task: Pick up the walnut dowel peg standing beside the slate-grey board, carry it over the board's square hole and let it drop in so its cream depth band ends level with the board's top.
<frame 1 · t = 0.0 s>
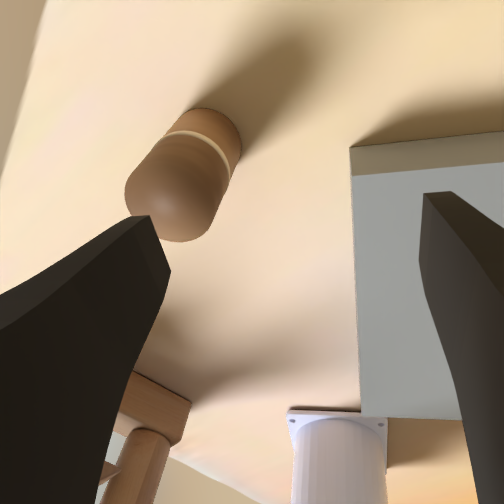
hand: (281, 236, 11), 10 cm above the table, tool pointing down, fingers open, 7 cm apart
wooden block: (132, 379, 35), on the table
peg: (206, 144, 21), on the table
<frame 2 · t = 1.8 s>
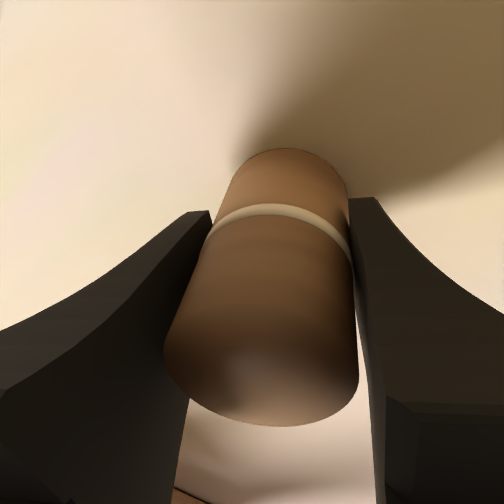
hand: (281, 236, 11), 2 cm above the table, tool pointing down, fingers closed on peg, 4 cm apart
peg: (286, 205, 12), on the table, touching gripper
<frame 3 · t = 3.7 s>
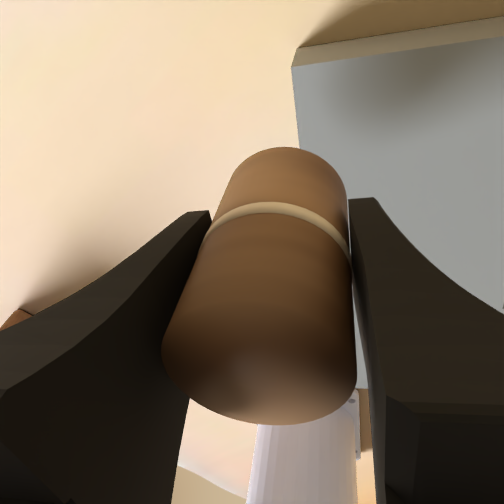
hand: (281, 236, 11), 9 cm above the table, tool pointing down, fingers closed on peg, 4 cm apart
peg: (285, 204, 12), point 7 cm above the table, touching gripper
when the fingers open (4 cm above the table, at t = 5.8 s): peg drops 2 cm, resting in board.
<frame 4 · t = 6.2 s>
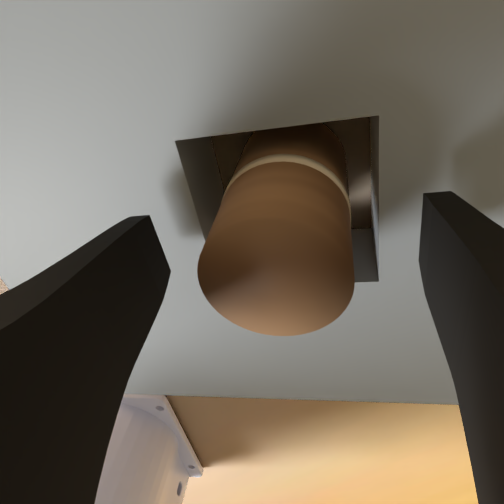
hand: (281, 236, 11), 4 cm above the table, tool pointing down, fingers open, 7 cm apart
peg: (292, 167, 14), resting in board
board: (292, 170, 14), on the table
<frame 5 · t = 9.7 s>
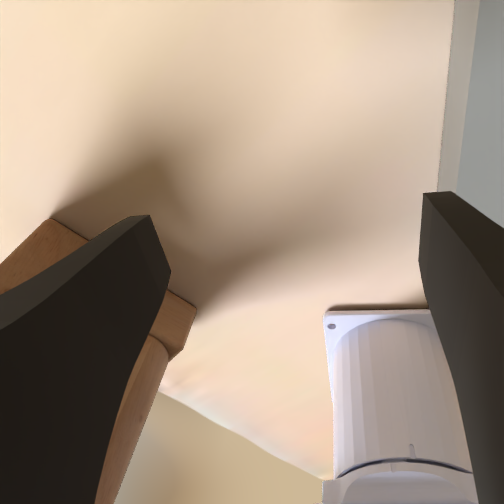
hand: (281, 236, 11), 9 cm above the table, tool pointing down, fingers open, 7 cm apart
wooden block: (118, 276, 27), on the table
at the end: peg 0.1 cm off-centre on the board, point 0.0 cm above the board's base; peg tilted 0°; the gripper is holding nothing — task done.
